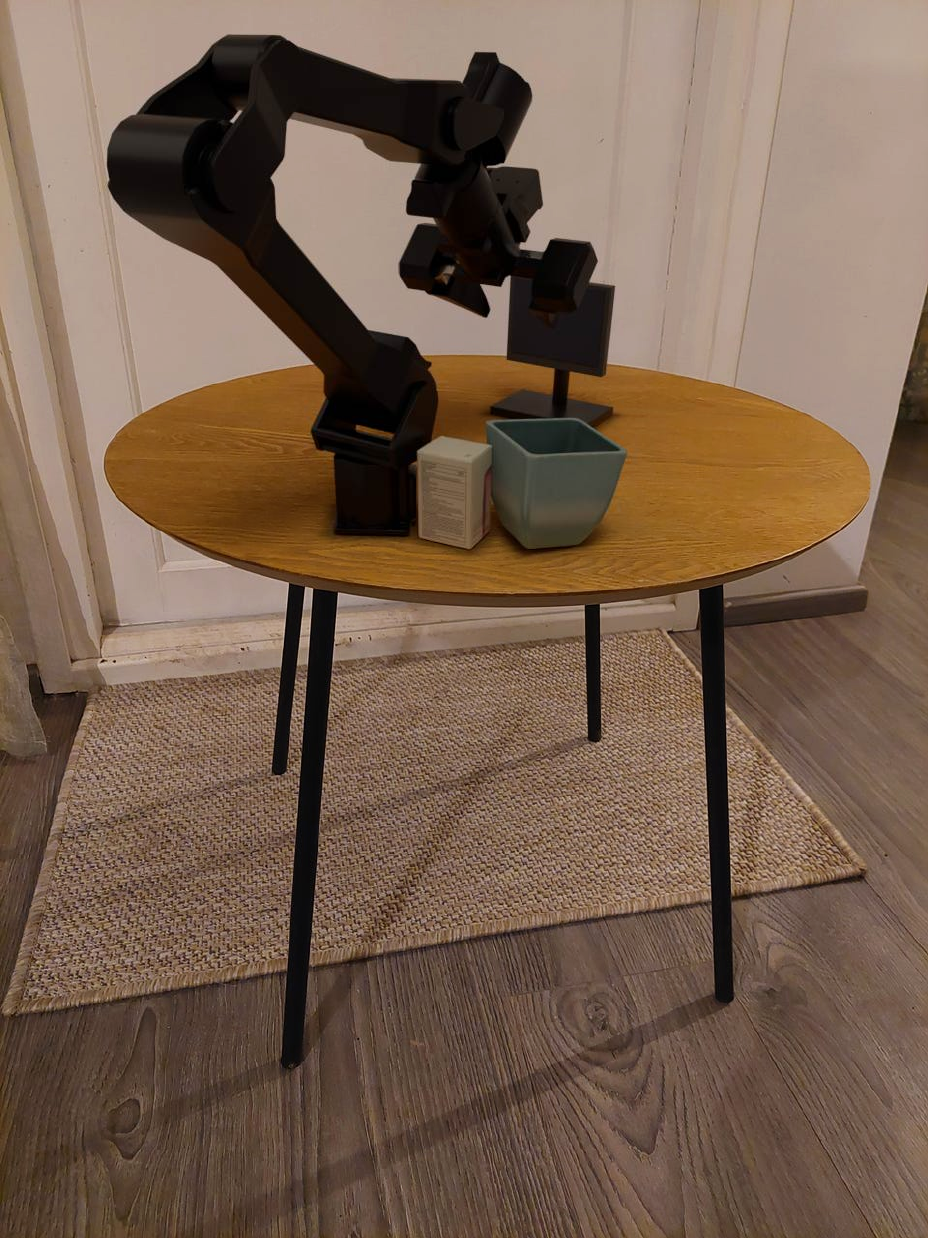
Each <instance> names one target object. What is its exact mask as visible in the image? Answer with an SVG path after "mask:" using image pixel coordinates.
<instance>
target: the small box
mask: <svg viewBox="0 0 928 1238" xmlns="http://www.w3.org/2000/svg"><path fill="white" fill-rule="evenodd" d="M416 466H417V477H418V508H417V516H418V519H417V520H418V522H417V523H418V525H417V527H418V538H419V539H423V540H428V541H430V542H436V543H441V544H445V545H449V546H453V547H457V548H462V549H465V550H471V549H472V548H474V547H475V546H476V545H477V544H479V542H480V541H481V540H482V539H483V538H484V537H485V536H486V535H487V534H488V533H489V532H490V531H491V511H492V510H491V508H492V507H491V506H492V497H491V470H492V445H489V444H487V443H483V442H478V441H473V440H466V439H461V438H456V437H449V436H443V435H439V436H438V437H436V438H435V439H434V440H431V442H430V443H429V444H427V445H426V446H424V447H422V448H421V449H419V450H418V451H417V461H416Z"/></svg>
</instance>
